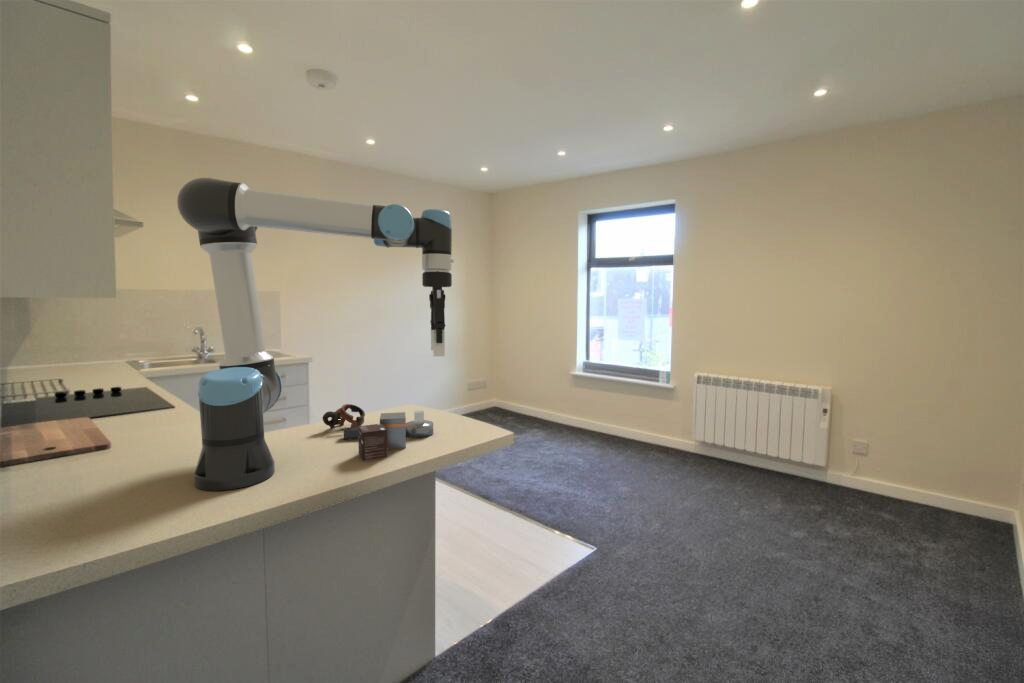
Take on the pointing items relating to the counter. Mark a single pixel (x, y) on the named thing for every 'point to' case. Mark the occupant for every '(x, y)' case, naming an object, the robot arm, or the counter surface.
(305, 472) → the counter surface
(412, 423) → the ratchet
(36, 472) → the counter surface
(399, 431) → the orange-striped grey cube
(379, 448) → the box
